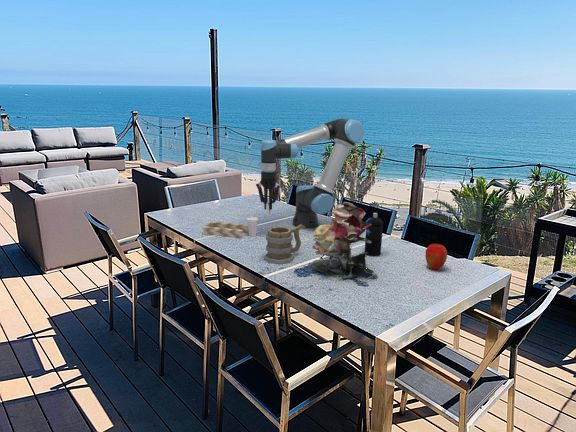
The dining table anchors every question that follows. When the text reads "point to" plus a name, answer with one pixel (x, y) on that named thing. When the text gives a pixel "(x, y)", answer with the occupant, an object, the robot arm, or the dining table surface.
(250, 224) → the smoothie
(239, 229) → the braided bread loaf
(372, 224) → the aerosol can
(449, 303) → the dining table surface
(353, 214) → the rose bouquet
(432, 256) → the apple
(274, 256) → the tankard
